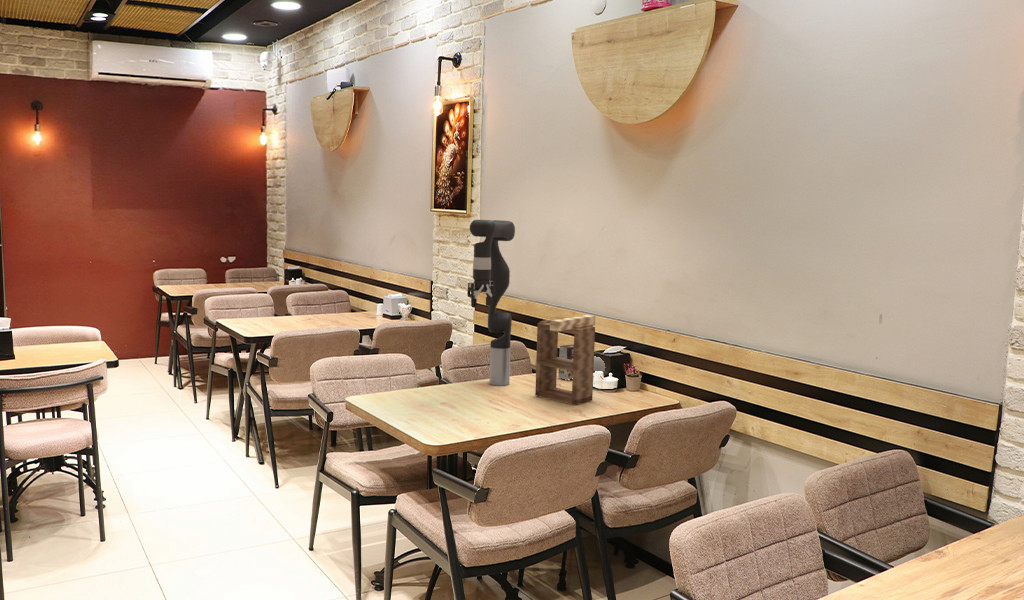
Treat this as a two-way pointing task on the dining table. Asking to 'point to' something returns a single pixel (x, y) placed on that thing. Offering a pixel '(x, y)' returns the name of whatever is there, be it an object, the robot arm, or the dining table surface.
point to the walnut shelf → (565, 364)
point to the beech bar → (571, 322)
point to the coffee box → (566, 353)
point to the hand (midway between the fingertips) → (481, 306)
